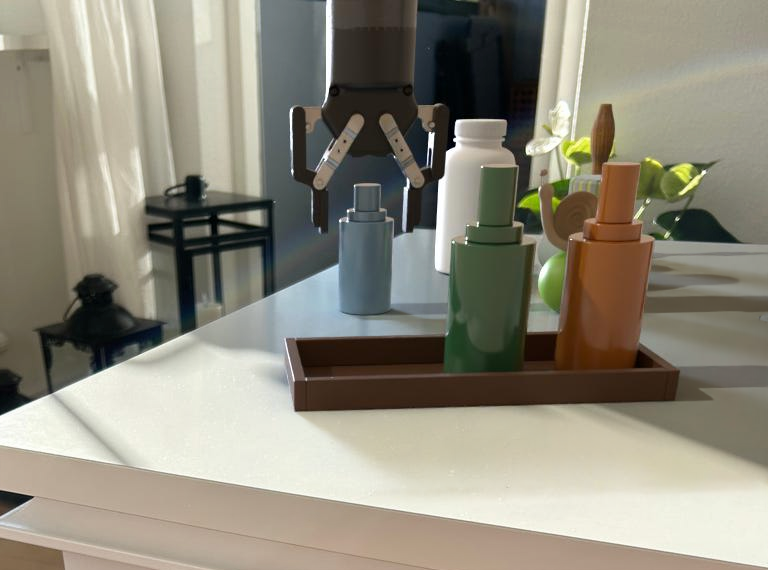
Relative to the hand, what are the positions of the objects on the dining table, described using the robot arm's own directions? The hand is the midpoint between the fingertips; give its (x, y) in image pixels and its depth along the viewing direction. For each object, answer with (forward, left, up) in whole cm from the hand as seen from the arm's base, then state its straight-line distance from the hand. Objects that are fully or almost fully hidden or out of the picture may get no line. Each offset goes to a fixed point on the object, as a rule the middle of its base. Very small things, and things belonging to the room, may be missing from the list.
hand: (365, 232), depth 94 cm
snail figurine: (-18, +3, -7) cm, 20 cm away
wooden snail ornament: (-25, -11, -7) cm, 28 cm away
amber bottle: (-13, +28, -6) cm, 31 cm away
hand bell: (-30, -26, -7) cm, 40 cm away
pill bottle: (-14, -18, -7) cm, 24 cm away
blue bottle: (0, 0, -7) cm, 7 cm away
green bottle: (-5, +28, -6) cm, 29 cm away
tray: (-4, +28, -7) cm, 29 cm away
